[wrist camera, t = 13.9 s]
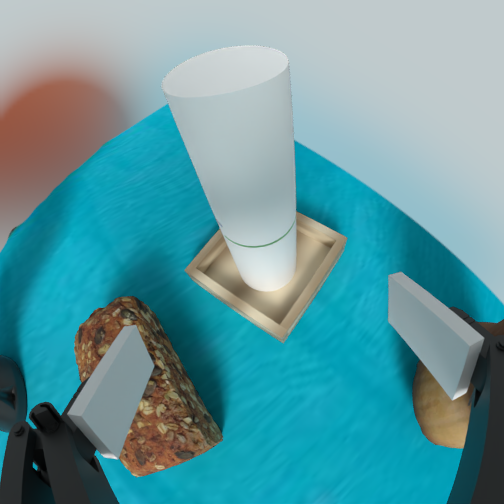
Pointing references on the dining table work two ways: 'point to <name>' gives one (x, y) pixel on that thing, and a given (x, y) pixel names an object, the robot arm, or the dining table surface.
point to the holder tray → (279, 301)
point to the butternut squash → (444, 404)
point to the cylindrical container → (243, 153)
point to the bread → (150, 391)
